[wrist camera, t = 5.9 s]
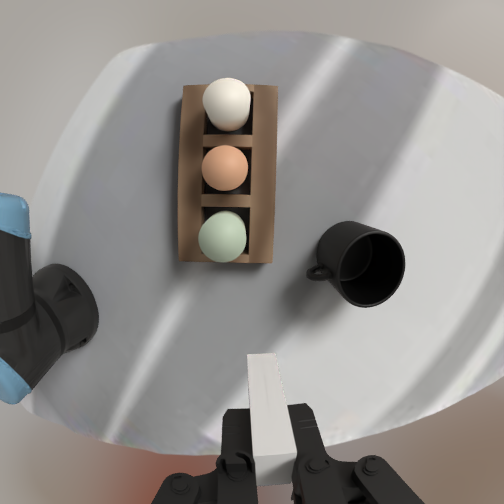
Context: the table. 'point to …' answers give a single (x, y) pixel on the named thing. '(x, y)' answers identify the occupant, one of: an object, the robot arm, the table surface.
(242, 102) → the white egg
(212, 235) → the pale green egg
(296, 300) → the table surface
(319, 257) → the mug
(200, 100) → the wooden tray
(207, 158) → the peach egg
